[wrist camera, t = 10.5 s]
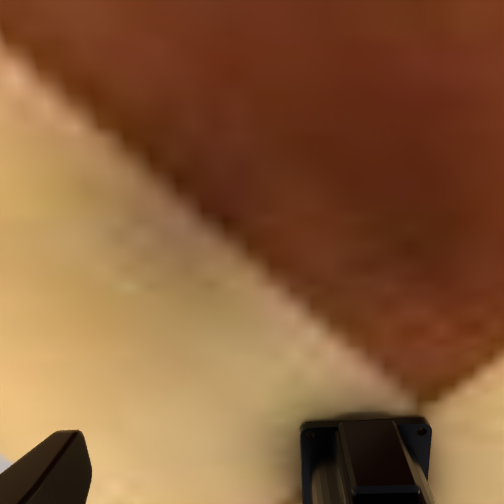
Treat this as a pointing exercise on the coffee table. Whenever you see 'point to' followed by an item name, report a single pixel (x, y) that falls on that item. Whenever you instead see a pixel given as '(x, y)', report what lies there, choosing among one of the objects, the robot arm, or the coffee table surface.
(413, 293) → the coffee table surface
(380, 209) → the coffee table surface
